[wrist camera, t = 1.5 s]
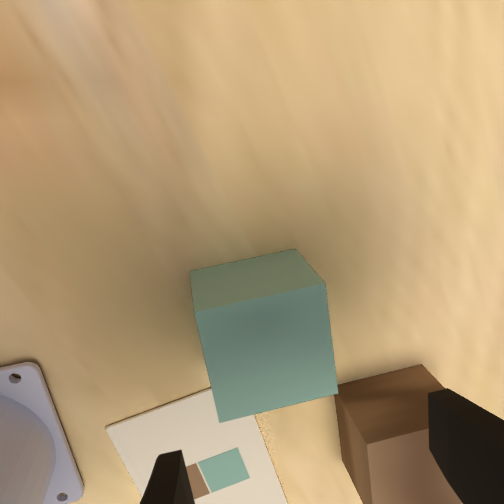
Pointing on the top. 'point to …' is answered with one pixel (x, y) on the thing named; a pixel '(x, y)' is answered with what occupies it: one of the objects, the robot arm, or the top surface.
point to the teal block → (264, 333)
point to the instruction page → (201, 451)
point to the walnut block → (391, 438)
